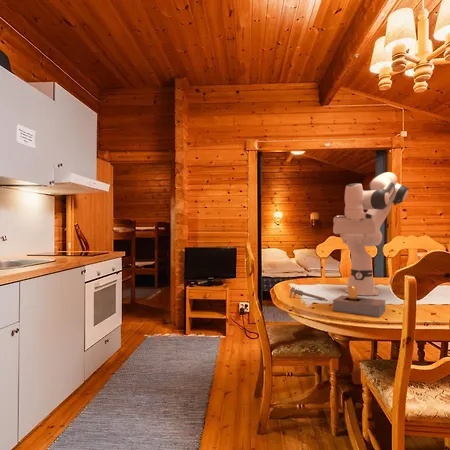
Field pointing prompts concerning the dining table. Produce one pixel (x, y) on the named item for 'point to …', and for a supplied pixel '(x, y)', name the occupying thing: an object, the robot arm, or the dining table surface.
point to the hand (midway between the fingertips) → (353, 243)
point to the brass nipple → (352, 293)
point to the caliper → (304, 294)
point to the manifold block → (359, 306)
